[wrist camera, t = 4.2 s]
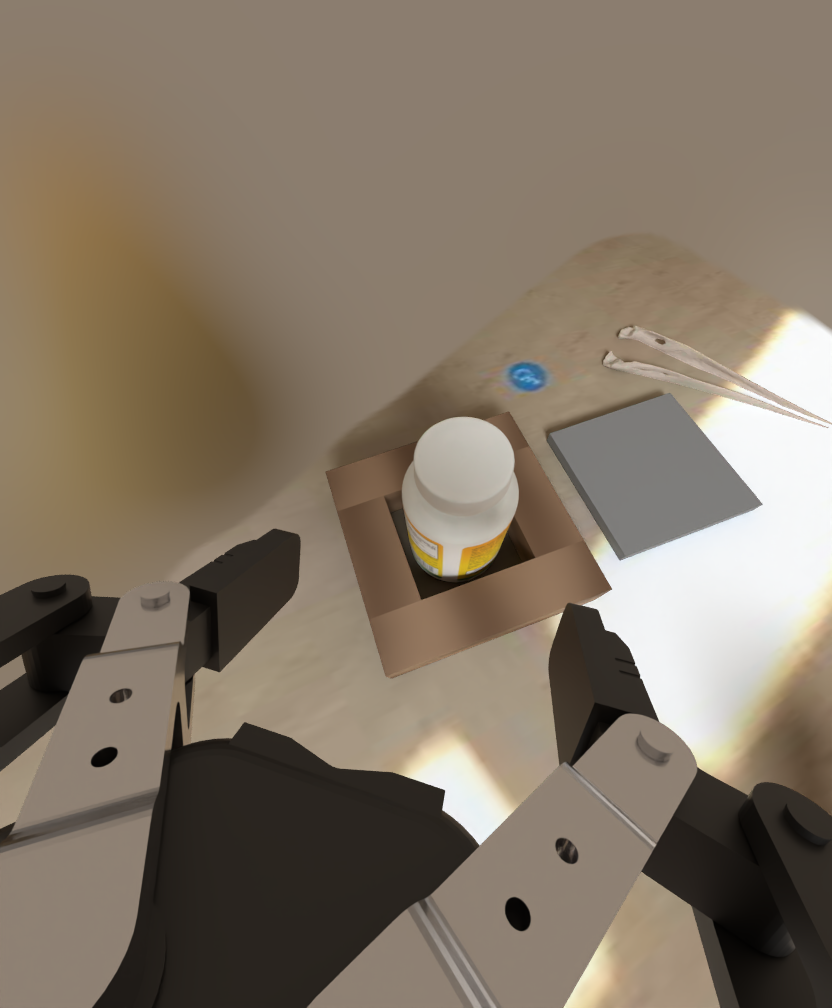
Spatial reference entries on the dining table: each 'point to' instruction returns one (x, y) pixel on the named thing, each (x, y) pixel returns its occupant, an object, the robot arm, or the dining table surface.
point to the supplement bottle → (459, 497)
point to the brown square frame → (475, 605)
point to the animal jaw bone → (702, 363)
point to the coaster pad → (650, 475)
